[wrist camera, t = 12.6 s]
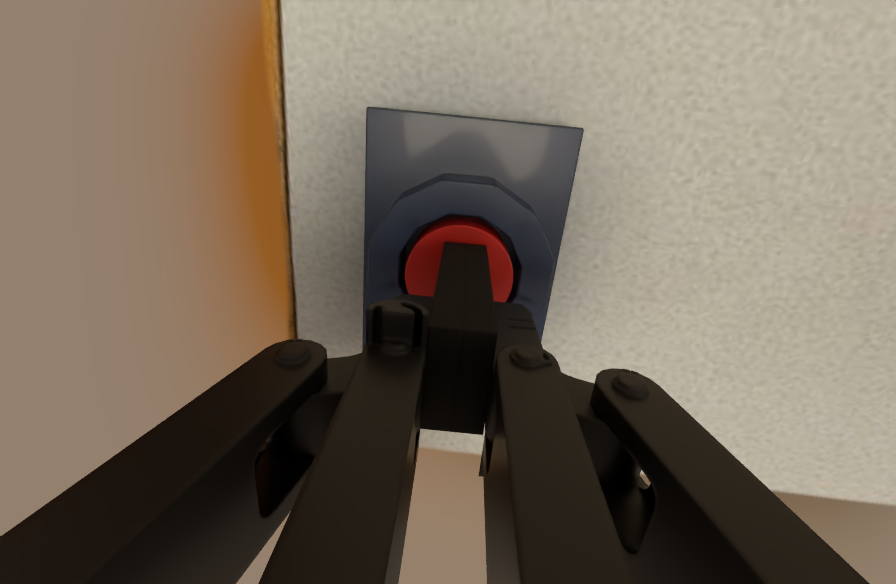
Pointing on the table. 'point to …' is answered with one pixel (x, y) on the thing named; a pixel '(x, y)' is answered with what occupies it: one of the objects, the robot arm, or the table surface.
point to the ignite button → (459, 230)
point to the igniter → (466, 194)
